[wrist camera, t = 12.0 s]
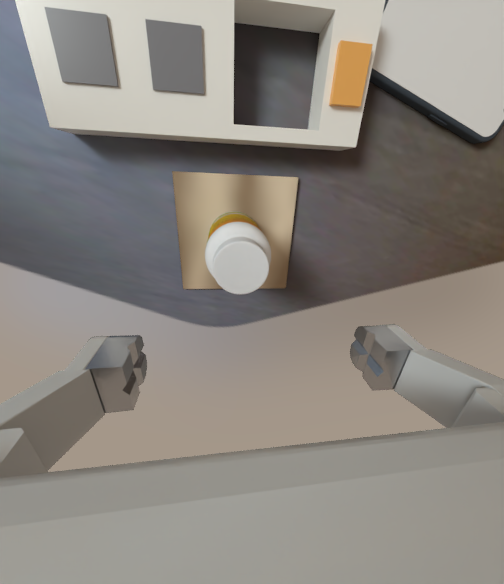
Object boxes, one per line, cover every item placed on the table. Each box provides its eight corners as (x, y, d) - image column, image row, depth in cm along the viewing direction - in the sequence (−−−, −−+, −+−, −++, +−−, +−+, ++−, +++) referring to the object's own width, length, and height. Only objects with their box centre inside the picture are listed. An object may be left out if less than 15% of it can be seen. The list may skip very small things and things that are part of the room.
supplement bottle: (200, 221, 24) (188, 246, 15) (250, 203, 24) (267, 218, 15) (219, 268, 26) (219, 313, 18) (265, 252, 26) (287, 289, 17)
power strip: (73, 133, 20) (45, 125, 17) (35, -23, 16) (-10, -71, 13) (340, 150, 23) (358, 146, 20) (363, 21, 19) (390, -10, 16)
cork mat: (183, 287, 27) (183, 289, 27) (173, 171, 22) (172, 171, 22) (284, 286, 29) (285, 288, 28) (297, 177, 24) (298, 177, 23)
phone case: (345, 73, 21) (474, 149, 25) (354, 65, 19) (489, 148, 23) (405, -69, 18) (543, 44, 21) (421, -91, 16) (566, 34, 20)
